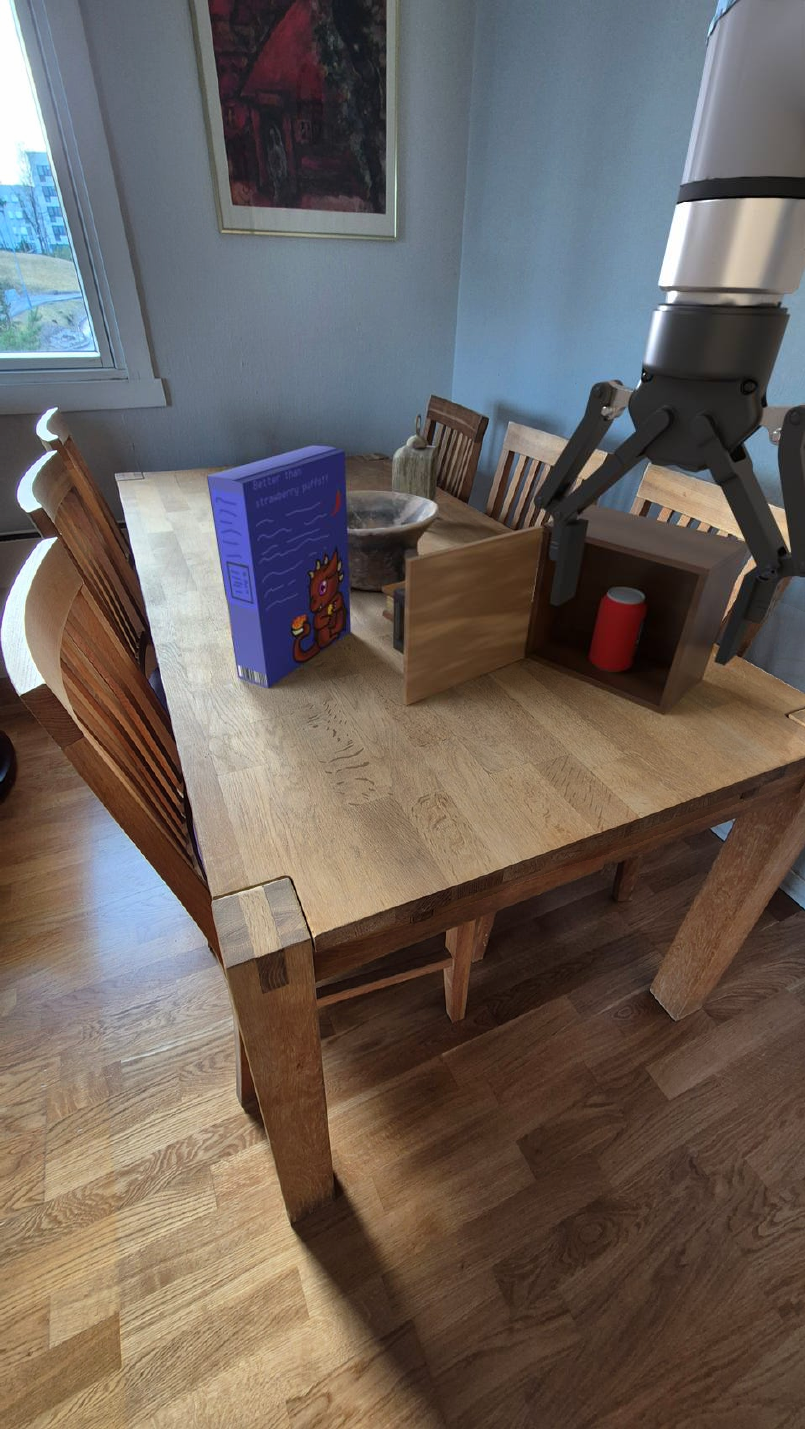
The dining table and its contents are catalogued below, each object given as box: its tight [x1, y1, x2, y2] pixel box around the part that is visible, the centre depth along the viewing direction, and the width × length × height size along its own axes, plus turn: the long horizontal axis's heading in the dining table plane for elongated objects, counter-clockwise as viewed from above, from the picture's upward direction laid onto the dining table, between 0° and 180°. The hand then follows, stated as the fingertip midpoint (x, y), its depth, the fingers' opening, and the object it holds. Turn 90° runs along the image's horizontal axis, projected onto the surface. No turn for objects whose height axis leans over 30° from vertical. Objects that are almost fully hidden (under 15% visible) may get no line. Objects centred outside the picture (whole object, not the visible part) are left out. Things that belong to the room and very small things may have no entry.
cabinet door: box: [392, 524, 544, 706], centre depth 92 cm, size 6×24×22 cm, turn 127°
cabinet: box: [524, 503, 749, 716], centre depth 94 cm, size 14×24×22 cm, turn 47°
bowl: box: [346, 490, 441, 592], centre depth 124 cm, size 27×26×15 cm
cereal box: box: [206, 444, 352, 689], centre depth 94 cm, size 22×6×30 cm, turn 149°
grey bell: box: [391, 413, 439, 503], centre depth 152 cm, size 14×9×25 cm, turn 170°
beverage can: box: [589, 587, 647, 672], centre depth 96 cm, size 7×7×12 cm
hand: (637, 627), depth 49 cm, fingers open, 13 cm apart
